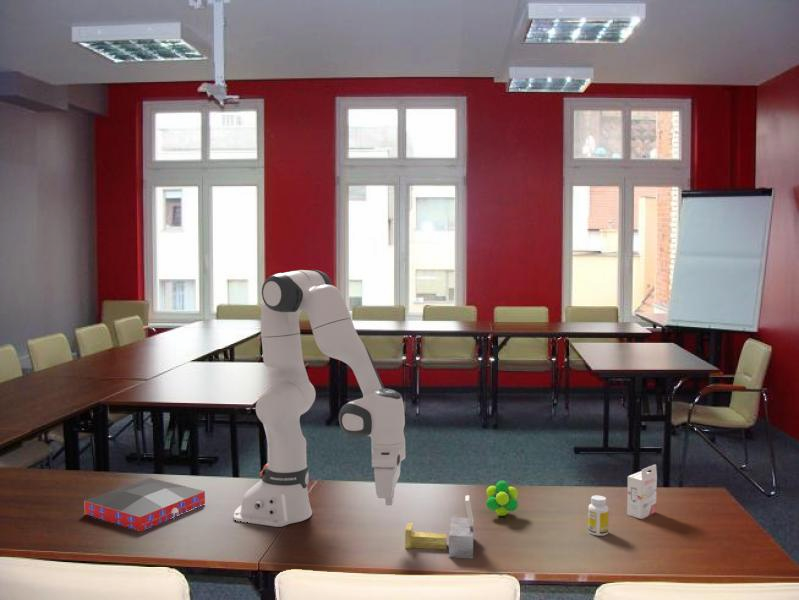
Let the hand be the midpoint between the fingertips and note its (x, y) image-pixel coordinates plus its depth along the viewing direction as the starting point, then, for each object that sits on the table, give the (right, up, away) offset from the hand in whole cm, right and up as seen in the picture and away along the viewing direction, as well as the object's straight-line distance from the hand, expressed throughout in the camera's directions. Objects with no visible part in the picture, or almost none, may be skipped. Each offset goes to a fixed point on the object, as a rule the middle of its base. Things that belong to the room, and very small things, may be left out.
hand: (389, 503), depth 186 cm
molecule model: (+32, -10, +21) cm, 40 cm away
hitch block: (+19, -11, -1) cm, 22 cm away
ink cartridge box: (+74, -10, +24) cm, 78 cm away
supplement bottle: (+57, -11, +10) cm, 59 cm away
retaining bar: (+21, -5, -2) cm, 22 cm away
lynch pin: (+10, -11, 0) cm, 15 cm away
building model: (-72, -9, +24) cm, 76 cm away
